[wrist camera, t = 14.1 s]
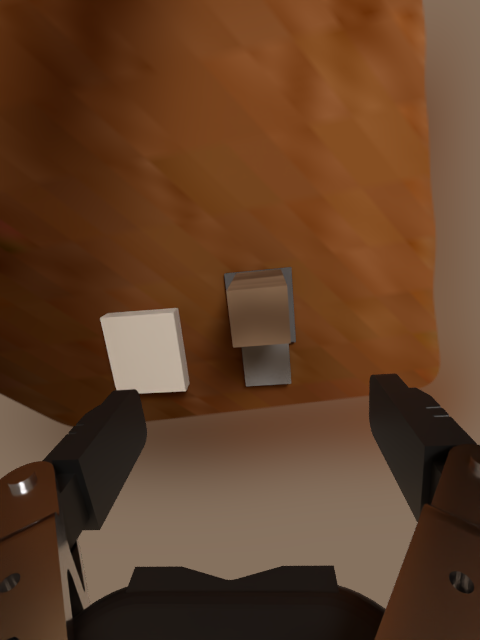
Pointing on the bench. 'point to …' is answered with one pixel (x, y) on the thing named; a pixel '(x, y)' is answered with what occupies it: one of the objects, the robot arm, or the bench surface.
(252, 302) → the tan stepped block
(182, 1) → the bench surface
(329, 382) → the bench surface
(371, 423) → the robot arm
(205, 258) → the bench surface
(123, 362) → the slab tile
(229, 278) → the mat
